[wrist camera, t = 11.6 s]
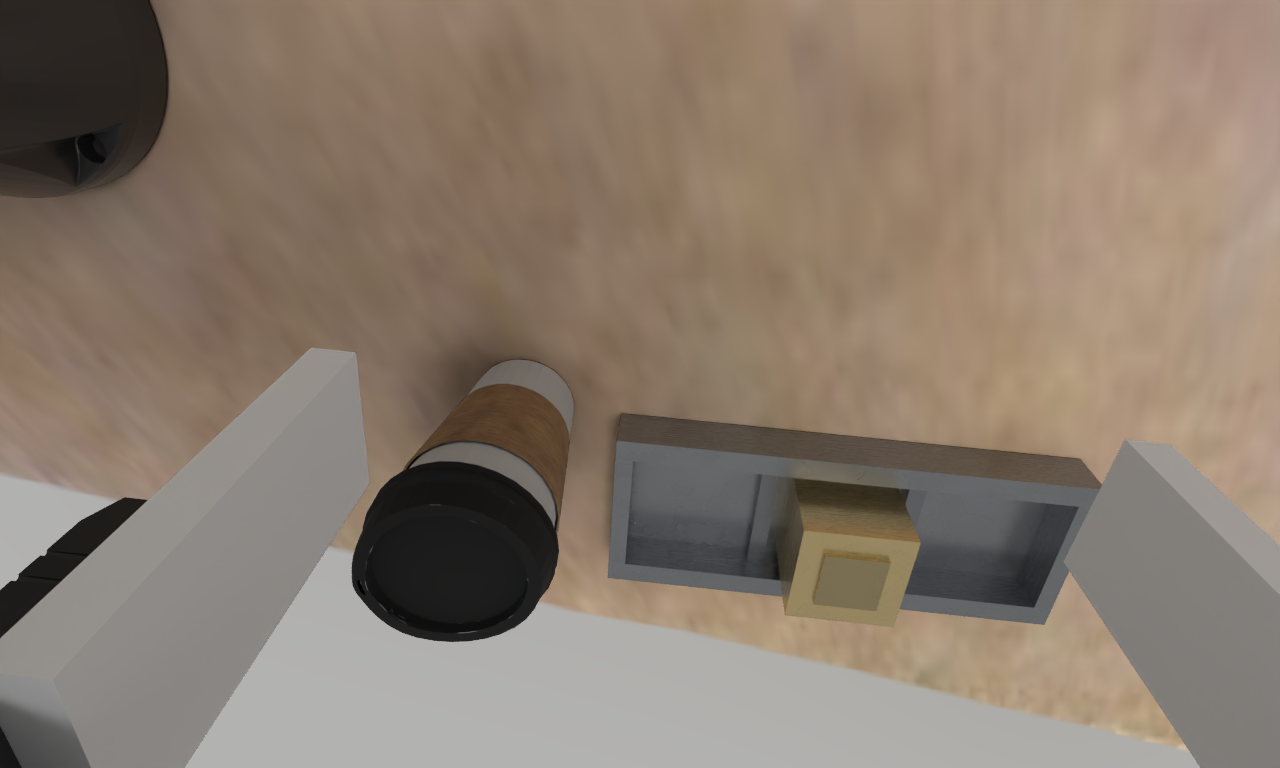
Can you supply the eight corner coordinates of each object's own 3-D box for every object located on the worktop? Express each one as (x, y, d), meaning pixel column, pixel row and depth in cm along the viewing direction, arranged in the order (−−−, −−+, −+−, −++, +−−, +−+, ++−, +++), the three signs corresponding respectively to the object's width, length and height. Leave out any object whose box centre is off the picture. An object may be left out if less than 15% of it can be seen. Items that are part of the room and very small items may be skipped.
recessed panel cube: (775, 544, 45) (785, 619, 40) (791, 465, 42) (804, 534, 37) (870, 554, 45) (894, 631, 39) (893, 475, 42) (922, 546, 37)
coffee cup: (438, 345, 41) (312, 506, 28) (583, 332, 40) (524, 493, 27) (473, 467, 45) (377, 660, 31) (606, 458, 44) (564, 654, 30)
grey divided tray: (613, 545, 47) (607, 577, 44) (621, 413, 42) (616, 440, 39) (1024, 589, 46) (1044, 624, 43) (1080, 459, 41) (1106, 490, 38)
